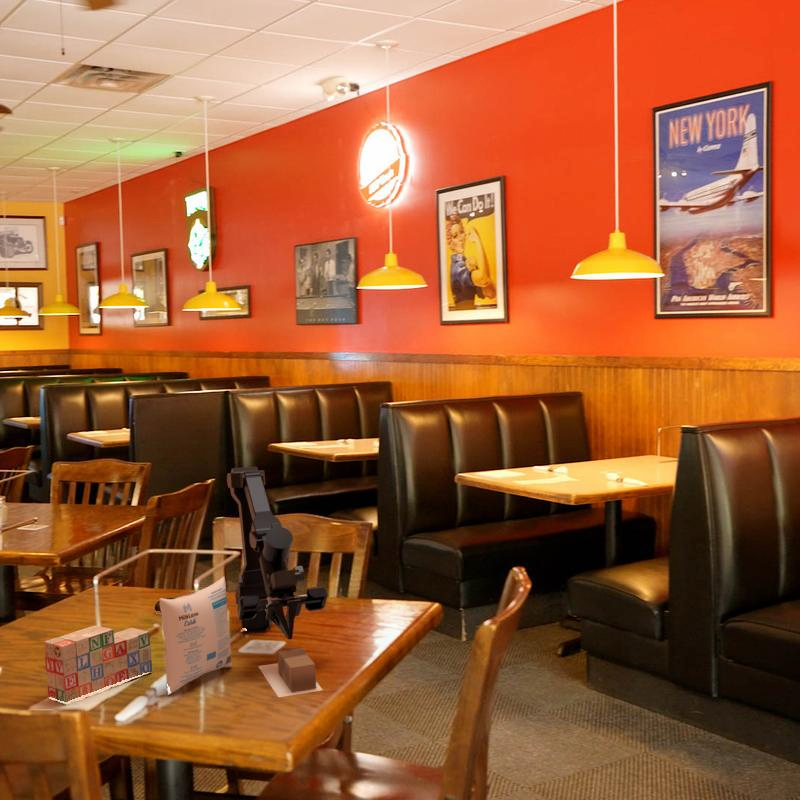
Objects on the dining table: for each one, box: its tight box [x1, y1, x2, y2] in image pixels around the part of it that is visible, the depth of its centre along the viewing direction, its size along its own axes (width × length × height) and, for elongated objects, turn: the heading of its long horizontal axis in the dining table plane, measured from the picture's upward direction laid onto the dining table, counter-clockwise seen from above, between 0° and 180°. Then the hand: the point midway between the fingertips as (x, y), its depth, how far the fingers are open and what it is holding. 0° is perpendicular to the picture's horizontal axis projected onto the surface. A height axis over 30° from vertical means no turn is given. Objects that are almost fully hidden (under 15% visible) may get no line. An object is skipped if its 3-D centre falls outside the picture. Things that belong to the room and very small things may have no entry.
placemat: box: [257, 662, 323, 698], centre depth 207 cm, size 20×9×1 cm, turn 20°
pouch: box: [158, 576, 233, 693], centre depth 208 cm, size 8×19×20 cm, turn 144°
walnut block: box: [276, 646, 317, 692], centre depth 205 cm, size 5×5×12 cm
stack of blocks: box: [44, 624, 153, 702], centre depth 208 cm, size 21×6×12 cm, turn 142°
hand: (290, 638), depth 208 cm, fingers closed
